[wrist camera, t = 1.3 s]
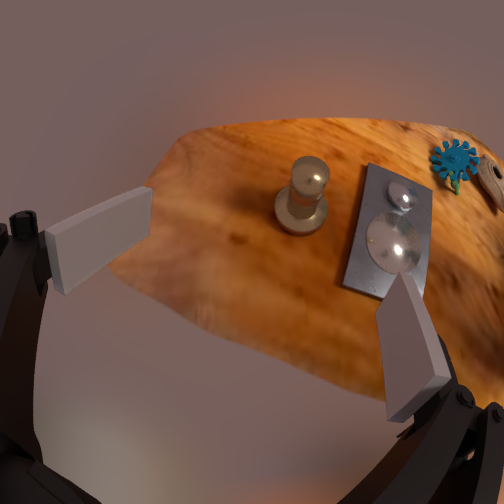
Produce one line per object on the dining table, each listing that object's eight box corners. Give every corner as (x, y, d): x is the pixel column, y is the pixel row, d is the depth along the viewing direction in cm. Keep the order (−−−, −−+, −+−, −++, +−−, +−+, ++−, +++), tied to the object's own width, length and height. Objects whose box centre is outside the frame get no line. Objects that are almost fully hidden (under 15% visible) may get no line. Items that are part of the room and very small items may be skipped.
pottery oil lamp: (490, 220, 35) (498, 193, 30) (464, 179, 43) (468, 153, 37) (518, 213, 32) (527, 187, 27) (491, 174, 40) (496, 149, 35)
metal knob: (329, 199, 37) (348, 157, 28) (317, 243, 35) (336, 208, 26) (283, 184, 38) (288, 138, 29) (267, 226, 36) (269, 186, 27)
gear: (432, 136, 39) (478, 137, 31) (440, 157, 43) (482, 158, 35) (426, 181, 38) (478, 185, 30) (433, 200, 41) (480, 205, 33)
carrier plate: (428, 193, 37) (435, 186, 35) (415, 311, 32) (424, 309, 29) (366, 166, 39) (371, 157, 37) (340, 286, 33) (345, 282, 31)
